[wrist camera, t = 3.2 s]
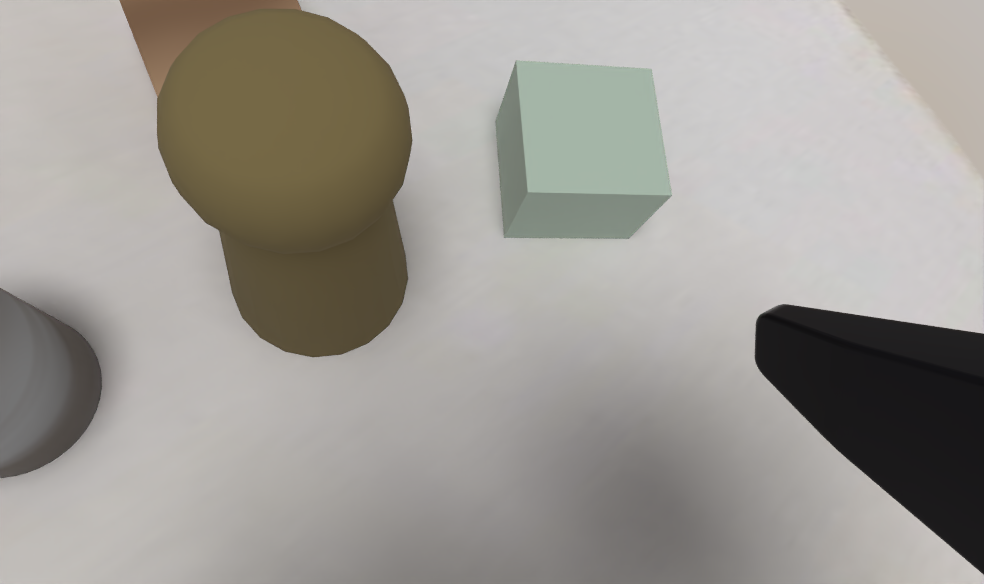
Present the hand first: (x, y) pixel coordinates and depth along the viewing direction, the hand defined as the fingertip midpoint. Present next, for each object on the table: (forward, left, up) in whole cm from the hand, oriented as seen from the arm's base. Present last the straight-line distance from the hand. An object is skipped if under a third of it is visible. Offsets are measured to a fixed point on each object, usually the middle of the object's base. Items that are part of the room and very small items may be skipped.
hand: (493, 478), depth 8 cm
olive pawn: (+6, -6, -14) cm, 16 cm away
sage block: (-2, -13, -14) cm, 19 cm away
